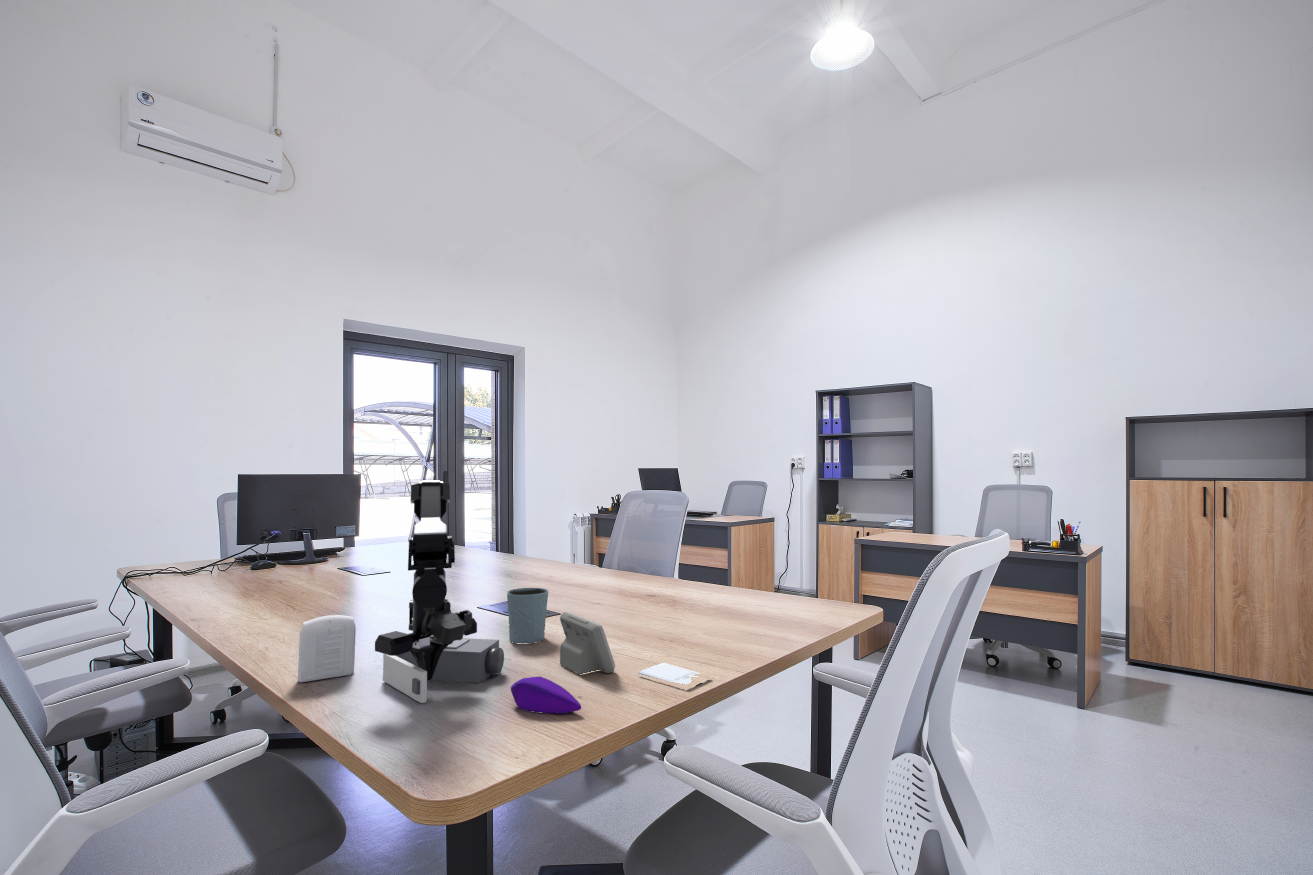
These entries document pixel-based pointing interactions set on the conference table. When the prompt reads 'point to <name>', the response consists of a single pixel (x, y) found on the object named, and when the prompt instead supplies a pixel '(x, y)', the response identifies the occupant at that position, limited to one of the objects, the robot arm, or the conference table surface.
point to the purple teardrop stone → (543, 696)
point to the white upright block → (326, 648)
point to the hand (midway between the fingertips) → (428, 679)
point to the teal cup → (527, 614)
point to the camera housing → (466, 660)
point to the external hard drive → (669, 673)
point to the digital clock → (584, 645)
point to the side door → (405, 677)
